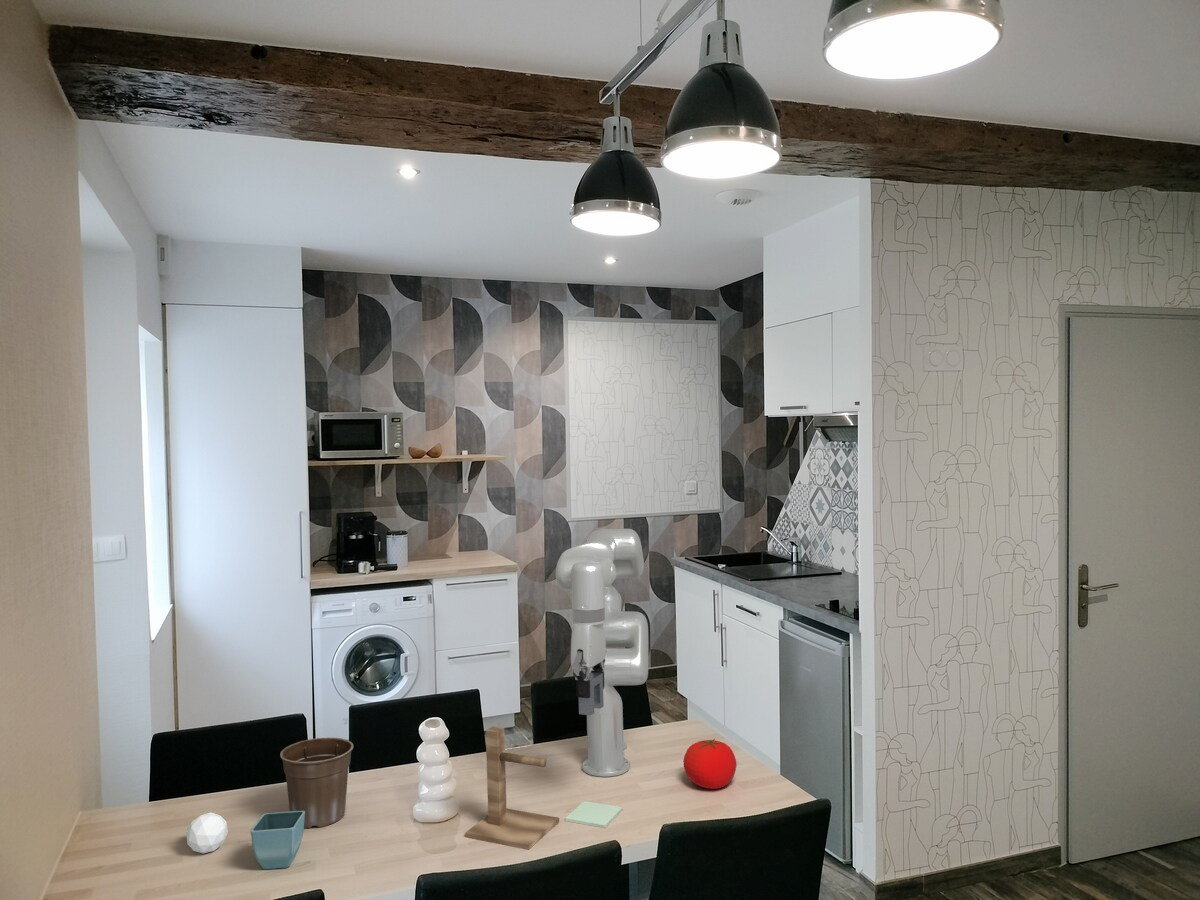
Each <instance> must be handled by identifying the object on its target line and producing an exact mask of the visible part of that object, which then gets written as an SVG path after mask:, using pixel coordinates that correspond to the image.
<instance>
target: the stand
mask: <svg viewBox="0 0 1200 900" xmlns="http://www.w3.org/2000/svg"><path fill="white" fill-rule="evenodd" d="M505 737H506V736H505V727H503V726H502V727H501V726H495V725H494V726H491V727H489V728H488V729H486V730H485V746H486V752H485V753H486V781H487V782H486V783H487V784H486V785H487V789H486V790H487V815H486V816H485V817H484V818H482V819H481V820H479V822H477V823H476V824H475V825H473V826H472V827H471V828H469V829H468V830H466V832H465V833H464V834H465V838H468V839H473V840H479V841H484V842H489V843H493V844H498V845H500V844H501V845H504V846H509V847H514V848H519V849H524V850H530V849H532V848H533V846H535V845H536V844H537V843H539V841H540V840H541V839H543V838H544V837H545V836H546V835H547V834H548V833H549V832H550V831H551V830H552V829H553V828H554V827H556V825H558V824H559V823H560V817H558V816H553V815H546V814H541V813H535V812H529V811H524V810H518V809H517V810H516V809H513V808H512V809H511V808H508V807H507V784H506V783H507V782H506V781H507V780H506V779H507V778H506V777H507V776H506V775H507V774H506V763H512V764H513V763H514V764H520V765H526V766H527V765H528V766H533V767H541V768H545V767H546V766H547V763H548V761H547V758H544V757H537V756H531V755H523V754H516V753H511V752H506V746H505V745H506V743H505V742H506V740H505Z"/></svg>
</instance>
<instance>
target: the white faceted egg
mask: <svg viewBox="0 0 1200 900" xmlns="http://www.w3.org/2000/svg"><path fill="white" fill-rule="evenodd" d="M227 824H228V822H227V821H226V820H225V819H224V817H223V816H221V815H220V814H217V813H214V812H207V813H204V814H201V815H199V816H197V817H196V818H195V819H194V820H192V821H191V823H190V825H189V826H188V827H187V830H186V843H187V846H189V847H190V849H191V850H192V851H193V852H197V853H200V854H207V853H211V852H214V851H216V850H217V849H218V848H219V847H221V846H222V845H223V844H224V841H225V840H226V839H227V836H228V833H229V832H228V825H227Z"/></svg>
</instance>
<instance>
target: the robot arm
mask: <svg viewBox="0 0 1200 900" xmlns="http://www.w3.org/2000/svg"><path fill="white" fill-rule="evenodd" d="M559 556H560V557H559V558H558V560H557V563H556V567H555V579H556V582H557V583H558V586H559V587H561V588H562V589H566V590H567V589H568V590H569V589H570V590H571V605H572V606H571V607H572V608H571V609H572V611H571V614H572V627H571V628H572V629H571V637H570V638H571V639H570V665H571V669H572V670H573V675H574V678H575V681H576V682H575V683H576V697H577V698H579V697H580V698H590V680H588V678H589V673H590V672H595V673H603V701H604V707H602V708H601V709H599V708H594V714H592V715H586V731H587V732H586V733H587V734H586V735H587V759H584V761H583V762H582V768H581V769H582V770H583V772H585V773H586V774H588V775H590V776H593V777H594V776H595V777H602V778H603V777H605V778H607V777H614V776H619V775H623V774H625V773H628V771H629V770H630V767H631V763H630V761H629V760H628V759H627V758H625V754H624V753H625V752H624V751H626V750H627V748H628V745H627V743H625V742H624V717H623V715H624V713H623V709H624V707H623V701H622V697H621V696H620V694H619V692H618V691H617V690H616V688H615V686H641V685H643V684H645V682H647V680H648V676H649V624H648V620H647V618H646V615H645V614H643V613H641V612H639V611H622V596H621V595H620V593H619V591H618V590H617V588H616V587H615V586H613V585H612V584H613V583H614V581H616V580H623V579H624V580H627V579H628V580H629V579H631V580H632V579H633V580H635V579H638V578H640V577H641V576H642V575H643V572H644V569H645V562H644V554H643V546H642V542H641V538H640V536H639V534H638V533H637V531H635V530H634V529H632V528H600V529H596V530H594V531H592V532H591V533H590V534H589V535H588V537H587V539H586V542H585V543H582V544H580V545H576V546H574V547H570V548H568V549H566V550H564V551H563V552H562V553H561V554H560V555H559Z"/></svg>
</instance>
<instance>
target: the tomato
mask: <svg viewBox="0 0 1200 900" xmlns="http://www.w3.org/2000/svg"><path fill="white" fill-rule="evenodd" d="M737 764H738V763H737V759H736V755H735V753H734V751H733V750H732V748H731V747H730V746H729V745H728V744H727V743H726V742H722V741H720V740H715V738H714V739H706V740H705V739H704V740H700V741H699V740H698V741H697V742H695V743H693V744H690V746H689V747H688V748H687V749H686V752H685V753H684V757H683V768H684V772H685V774H686V776H687V777H688V779H690V780H691V781H692V782H693V783H694V784H695V785H697V786H699V787H701V788H705V789H711V790H712V789H713V790H715V789H720V788H723V787H725V786H726V785H728V784H729V783H731V781H732V779H733V778H734V776H735V773H736V769H737Z"/></svg>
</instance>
